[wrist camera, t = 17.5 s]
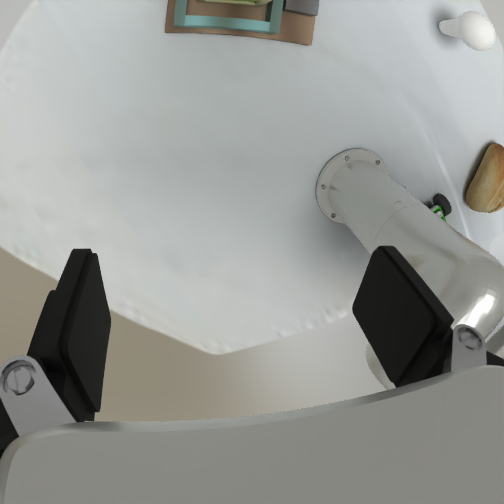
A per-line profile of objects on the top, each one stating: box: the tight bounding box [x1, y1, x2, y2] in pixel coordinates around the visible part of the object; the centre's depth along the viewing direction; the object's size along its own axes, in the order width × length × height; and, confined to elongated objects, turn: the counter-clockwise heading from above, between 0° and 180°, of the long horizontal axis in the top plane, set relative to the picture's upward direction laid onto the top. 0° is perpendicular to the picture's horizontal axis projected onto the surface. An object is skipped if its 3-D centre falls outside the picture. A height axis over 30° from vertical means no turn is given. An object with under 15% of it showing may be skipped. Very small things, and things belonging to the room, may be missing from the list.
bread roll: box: [466, 143, 504, 213], centre depth 49 cm, size 10×15×8 cm, turn 166°
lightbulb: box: [439, 11, 496, 51], centre depth 30 cm, size 6×6×11 cm
